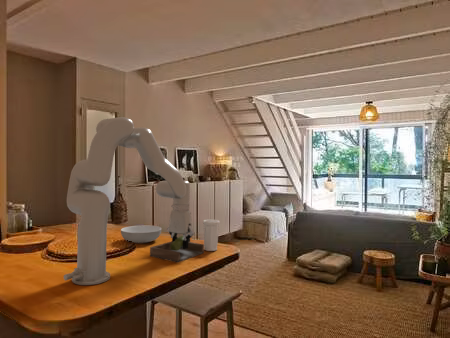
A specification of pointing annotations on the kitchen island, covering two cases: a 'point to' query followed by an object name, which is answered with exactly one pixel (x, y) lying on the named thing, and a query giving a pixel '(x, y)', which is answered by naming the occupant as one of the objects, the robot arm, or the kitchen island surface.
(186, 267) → the kitchen island surface
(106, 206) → the robot arm
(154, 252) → the tray
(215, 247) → the cup
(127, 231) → the serving bowl
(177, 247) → the pear
